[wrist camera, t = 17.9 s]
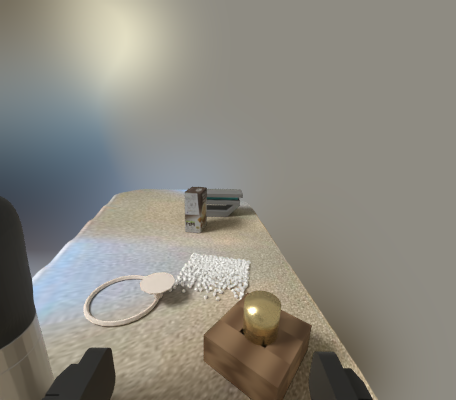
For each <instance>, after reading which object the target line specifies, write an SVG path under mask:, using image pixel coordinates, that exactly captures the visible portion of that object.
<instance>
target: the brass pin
mask: <svg viewBox="0 0 456 400" xmlns="http://www.w3.org/2000/svg"><path fill="white" fill-rule="evenodd" d="M280 312H281V303H280V301H279V299H278V298H277V297H276V296H275V295H273V294H271V293H269V292H266V291H254V292H251V293H249V294H248V295H247V296H246V298H245V301H244V316H243V334H244V336H245V337H246V339H247V340H248V341H250V342H251V343H253V344H255V345H259V346H262V347H264V348H266V347H267V345H270V344H272V343H273V342H275V340H276V339H277V336H278V328H279V320H280Z"/></svg>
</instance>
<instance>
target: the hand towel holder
mask: <svg viewBox="0 0 456 400" xmlns="http://www.w3.org/2000/svg"><path fill="white" fill-rule="evenodd" d="M129 279H141V280H142V281H141V282H140V288H141V290H142V291H144V292H147V293H149V294H154V297H155V300H154V302H153V303H152V304H151V305H150V306H149V307H148V308H147V309H146V310H144V311H143V312H141V313H139V314H137V315H135V316H133V317H130V318H127V319H124V320H119V321H101V320H97V319H95V318H94V317H92V315H91V314H90V312H89V304H90V301H91V299H92V298H93V297H94V295H96V294H97V293H98V292H99V291H100V290H102V289H103V288H105V287H107V286H108V285H111V284H113V283H115V282H119V281H123V280H129ZM174 282H175V280H174V277H173V275H170V274H168V273H165V272H162V273H153V274H151V275H148V276H140V275H130V276H123V277H119V278H116V279H113V280H111V281H108V282H106V283H104V284H103V285H101V286H99V287H98V288H97V289H95V290H94V291H93V292H92V293H91V294H90V296H89V297H88V298H87V300H86V302H85V305H84V315H85V317H86V318H87V319H88V320H89V321H91V322H92V323H94V324H96V325H100V326H111V327H114V326H120V325H125V324H128V323H131V322H134V321H136V320H138V319H140V318H141V317H143V316H145V315H146V314H147V313H149V312H150V311H151V310H152V309H153V308H154V307H155V305H156V304H157V303H158V301H159V299H160V298H162V296H163V294H162V293H163V292H165V291H167V290H169V289H170V288H171V287H172V285H173V284H174Z"/></svg>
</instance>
